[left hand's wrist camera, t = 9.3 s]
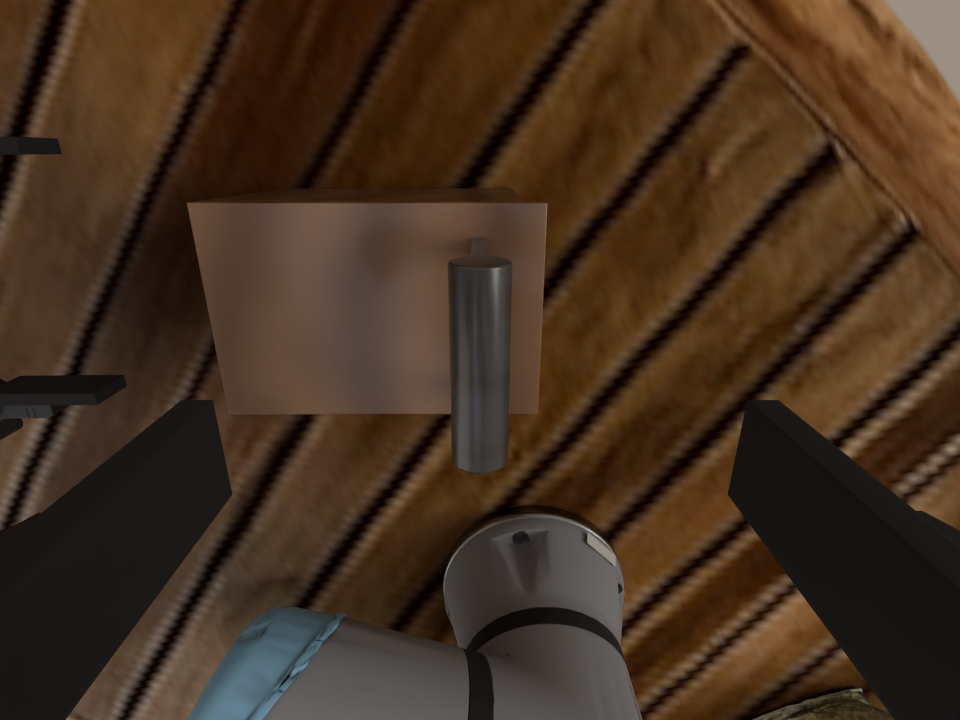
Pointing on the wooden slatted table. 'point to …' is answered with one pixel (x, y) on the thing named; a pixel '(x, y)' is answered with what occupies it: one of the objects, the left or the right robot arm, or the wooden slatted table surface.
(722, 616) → the wooden slatted table surface
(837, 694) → the fossil
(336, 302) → the lid
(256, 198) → the chest
